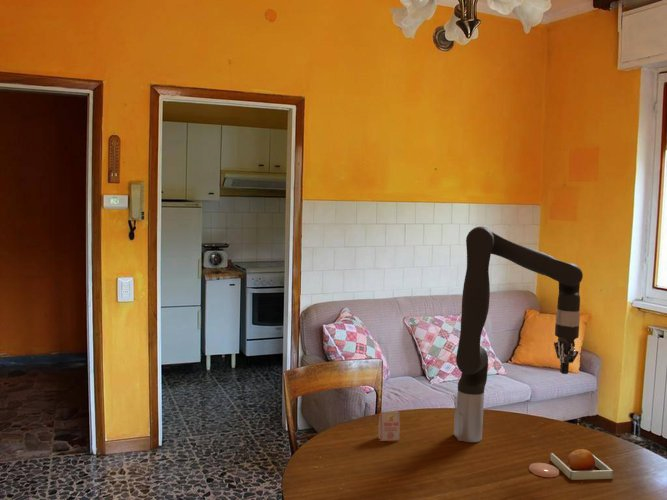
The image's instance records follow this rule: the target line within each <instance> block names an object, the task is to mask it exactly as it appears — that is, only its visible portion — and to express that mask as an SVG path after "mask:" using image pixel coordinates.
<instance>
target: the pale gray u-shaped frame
mask: <svg viewBox="0 0 667 500" xmlns="http://www.w3.org/2000/svg"><path fill="white" fill-rule="evenodd" d="M592 455H593V456H594V459H595V466H594V467H596V468H598V469H599V470H594V469H593V470H592V471H574V470H572V468H569V466H567V464H566V463H564V462H563V461H562V460H561V459H560V458H559V457H558V456H556V455H555V454H554V453H553V452H551V453H550V461H551V463H552V464H553V465H554V466H555V467H556V468H557V469H558V470H559V471H561V472H562V473H563V474H564V475H565V476H566V477H567V478H568V479H570V480H571V481H575V480H577V481H578V480H610V479H611V480H612V479H613V475H614V470H613V469H611V468H610V466H608V465H607V464H606V463H604V462H603V461H602V460H600V459H599V458H597V457H596V456H595V454H593V453H592Z"/></svg>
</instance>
